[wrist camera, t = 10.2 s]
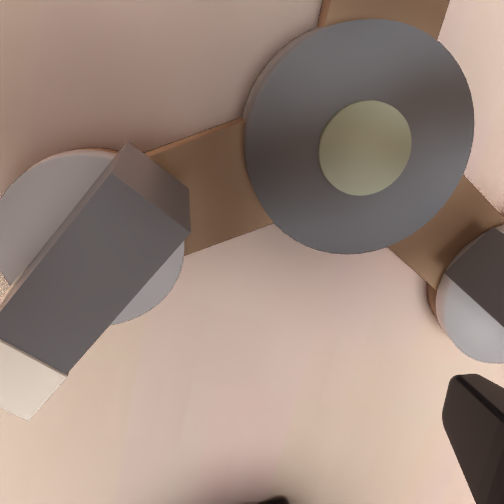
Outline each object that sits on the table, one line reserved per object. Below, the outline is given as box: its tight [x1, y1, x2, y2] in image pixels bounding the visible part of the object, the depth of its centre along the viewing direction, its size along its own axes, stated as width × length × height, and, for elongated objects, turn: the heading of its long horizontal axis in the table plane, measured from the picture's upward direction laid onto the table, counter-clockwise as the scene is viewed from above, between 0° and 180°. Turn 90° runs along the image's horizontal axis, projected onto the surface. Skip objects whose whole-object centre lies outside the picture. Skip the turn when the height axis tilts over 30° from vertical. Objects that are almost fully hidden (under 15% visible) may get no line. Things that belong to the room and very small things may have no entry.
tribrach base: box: [71, 0, 504, 317], centre depth 17 cm, size 23×21×2 cm
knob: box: [0, 140, 191, 421], centre depth 15 cm, size 8×6×5 cm
